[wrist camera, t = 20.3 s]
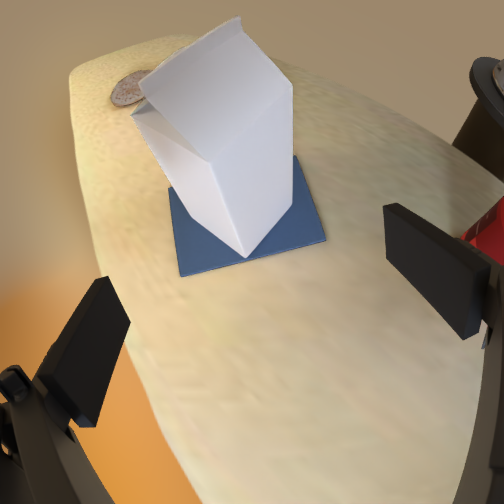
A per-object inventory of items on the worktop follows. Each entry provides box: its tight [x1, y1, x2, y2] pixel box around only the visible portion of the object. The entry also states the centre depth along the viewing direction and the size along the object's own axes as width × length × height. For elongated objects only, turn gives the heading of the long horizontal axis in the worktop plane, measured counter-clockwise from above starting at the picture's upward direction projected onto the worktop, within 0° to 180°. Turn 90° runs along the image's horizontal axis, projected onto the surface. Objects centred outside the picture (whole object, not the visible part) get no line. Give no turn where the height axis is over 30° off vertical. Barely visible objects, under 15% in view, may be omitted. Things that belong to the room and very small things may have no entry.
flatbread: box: [111, 70, 153, 106], centre depth 40 cm, size 8×8×1 cm
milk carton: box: [130, 16, 293, 258], centre depth 22 cm, size 7×7×19 cm
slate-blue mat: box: [168, 155, 326, 277], centre depth 31 cm, size 14×10×1 cm
